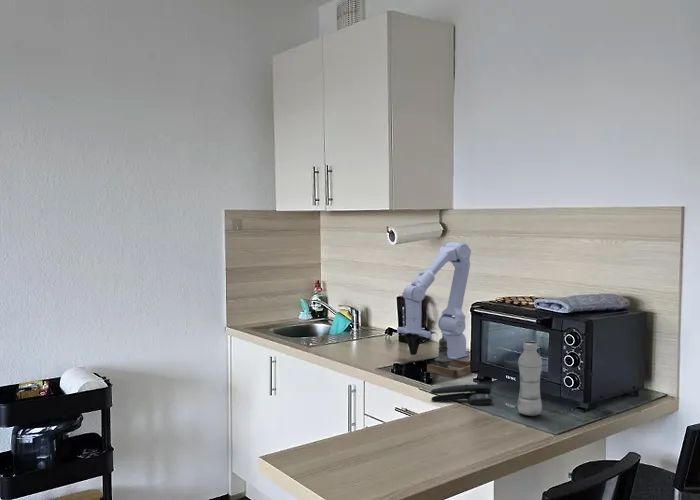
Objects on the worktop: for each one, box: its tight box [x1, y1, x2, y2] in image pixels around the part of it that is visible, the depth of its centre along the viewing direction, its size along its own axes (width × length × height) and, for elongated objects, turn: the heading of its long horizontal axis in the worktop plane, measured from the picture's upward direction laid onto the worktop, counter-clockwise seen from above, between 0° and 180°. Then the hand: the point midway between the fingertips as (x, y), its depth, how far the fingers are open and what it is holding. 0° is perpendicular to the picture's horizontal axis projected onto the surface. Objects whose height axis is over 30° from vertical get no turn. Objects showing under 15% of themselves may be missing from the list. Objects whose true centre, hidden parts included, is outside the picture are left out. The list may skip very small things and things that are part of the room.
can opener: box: [430, 382, 493, 406], centre depth 184 cm, size 18×7×6 cm, turn 82°
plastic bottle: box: [517, 340, 543, 417], centre depth 171 cm, size 6×7×20 cm
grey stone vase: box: [434, 335, 451, 369], centre depth 222 cm, size 6×6×12 cm
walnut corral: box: [426, 358, 472, 379], centre depth 220 cm, size 14×12×2 cm
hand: (413, 354), depth 232 cm, fingers closed
